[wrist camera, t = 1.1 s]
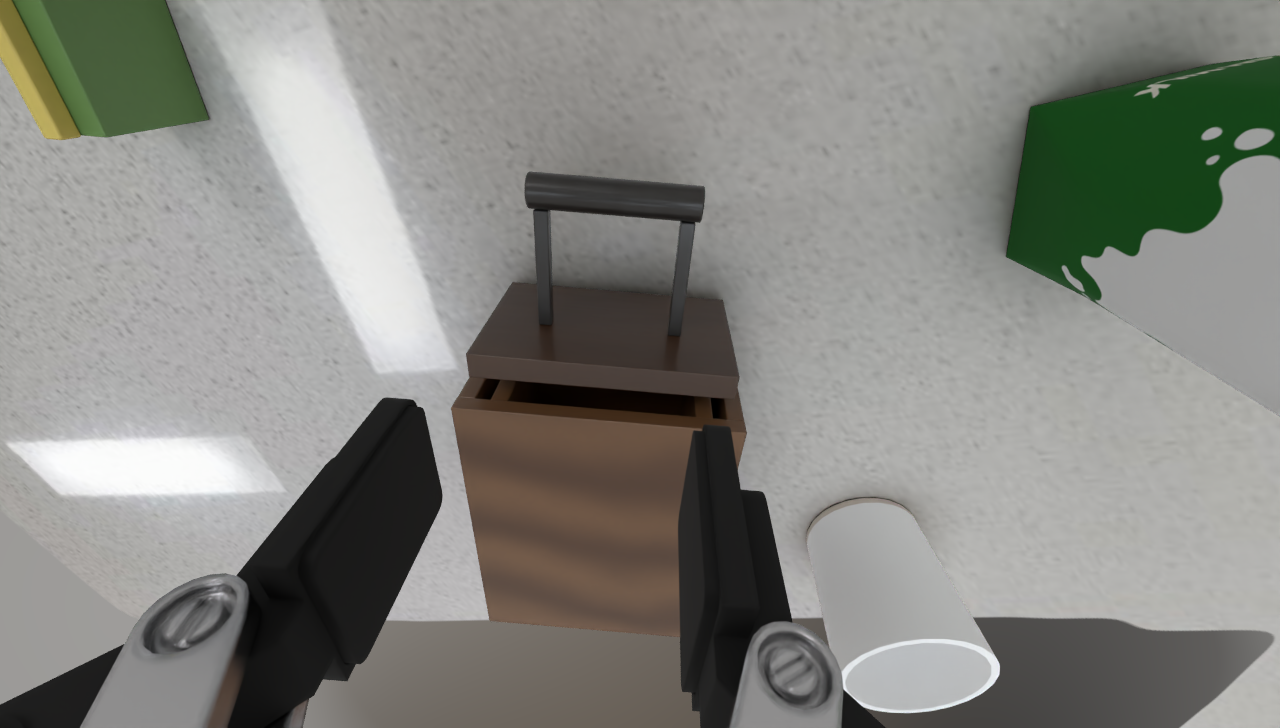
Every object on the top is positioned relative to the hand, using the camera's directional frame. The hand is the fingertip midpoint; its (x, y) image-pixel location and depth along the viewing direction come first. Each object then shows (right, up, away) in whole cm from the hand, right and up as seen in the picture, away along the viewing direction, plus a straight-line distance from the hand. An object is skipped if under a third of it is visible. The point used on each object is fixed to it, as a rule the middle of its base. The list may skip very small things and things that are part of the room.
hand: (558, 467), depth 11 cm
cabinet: (0, -2, +22) cm, 22 cm away
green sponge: (-20, +16, +11) cm, 28 cm away
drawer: (0, +2, +18) cm, 18 cm away
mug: (+19, -11, +27) cm, 35 cm away
